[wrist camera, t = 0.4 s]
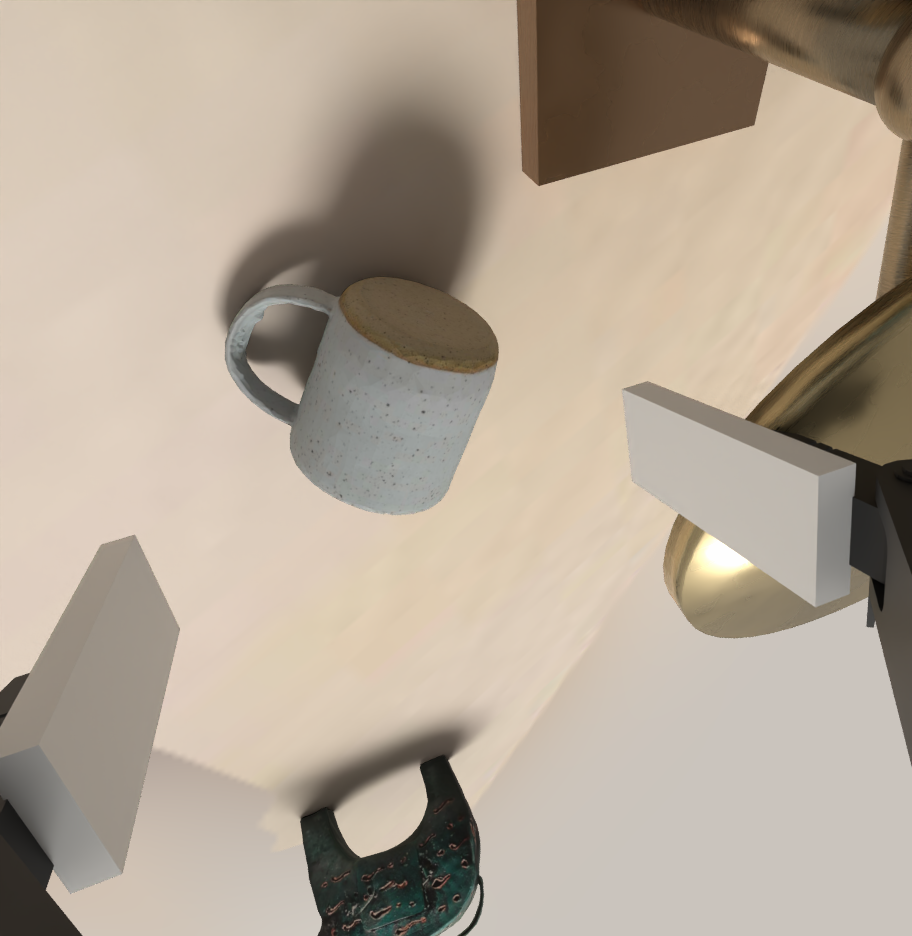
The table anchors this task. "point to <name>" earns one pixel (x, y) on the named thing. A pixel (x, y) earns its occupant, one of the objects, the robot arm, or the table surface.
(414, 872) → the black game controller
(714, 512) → the robot arm
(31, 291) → the table surface
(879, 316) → the balance
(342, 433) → the ceramic mug
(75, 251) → the table surface
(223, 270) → the table surface
